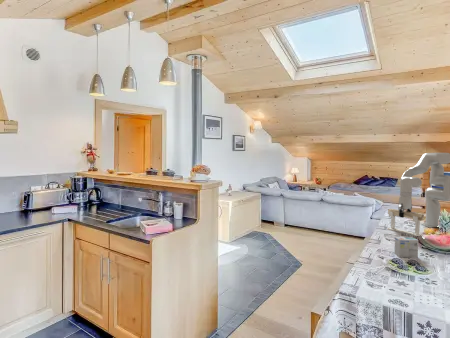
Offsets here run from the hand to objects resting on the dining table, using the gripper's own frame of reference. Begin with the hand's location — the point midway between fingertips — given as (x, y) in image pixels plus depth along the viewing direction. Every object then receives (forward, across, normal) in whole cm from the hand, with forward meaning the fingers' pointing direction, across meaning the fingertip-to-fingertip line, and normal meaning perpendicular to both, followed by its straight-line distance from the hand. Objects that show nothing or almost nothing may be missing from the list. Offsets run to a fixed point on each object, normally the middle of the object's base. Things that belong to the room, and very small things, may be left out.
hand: (405, 216), depth 221 cm
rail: (0, 0, 0) cm, 0 cm away
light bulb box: (+13, +48, +27) cm, 56 cm away
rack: (+12, 0, 0) cm, 12 cm away
